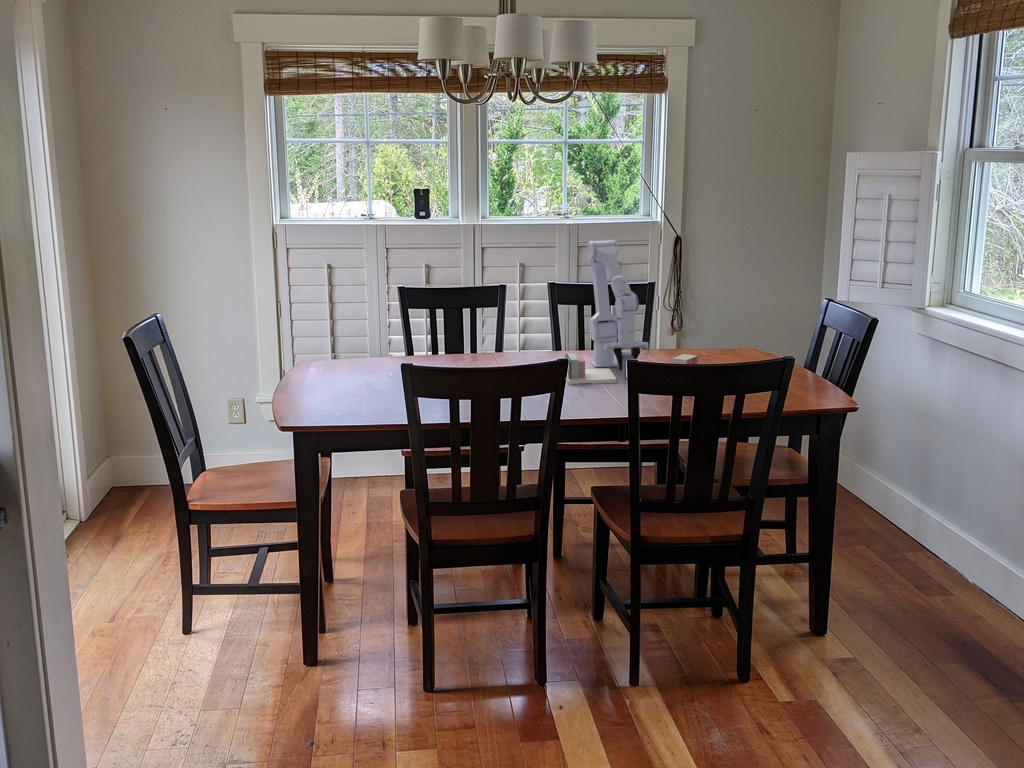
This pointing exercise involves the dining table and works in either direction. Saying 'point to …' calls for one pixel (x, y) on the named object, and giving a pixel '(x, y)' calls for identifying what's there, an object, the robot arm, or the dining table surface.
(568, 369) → the bookend
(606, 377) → the shelf board
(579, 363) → the books
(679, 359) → the small box
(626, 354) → the slate book
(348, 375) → the dining table surface
